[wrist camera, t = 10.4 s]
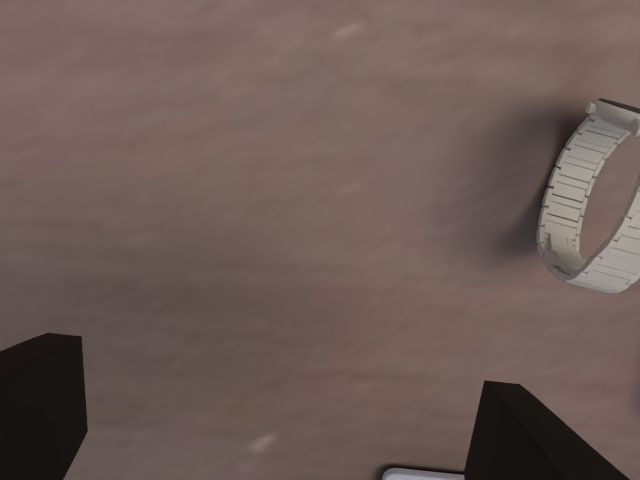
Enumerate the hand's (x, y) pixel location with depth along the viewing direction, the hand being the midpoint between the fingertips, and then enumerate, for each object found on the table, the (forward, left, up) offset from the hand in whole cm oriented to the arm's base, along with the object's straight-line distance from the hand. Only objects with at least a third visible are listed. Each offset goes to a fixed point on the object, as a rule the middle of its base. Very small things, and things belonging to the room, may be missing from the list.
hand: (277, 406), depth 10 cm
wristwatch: (+3, -8, -10) cm, 13 cm away
